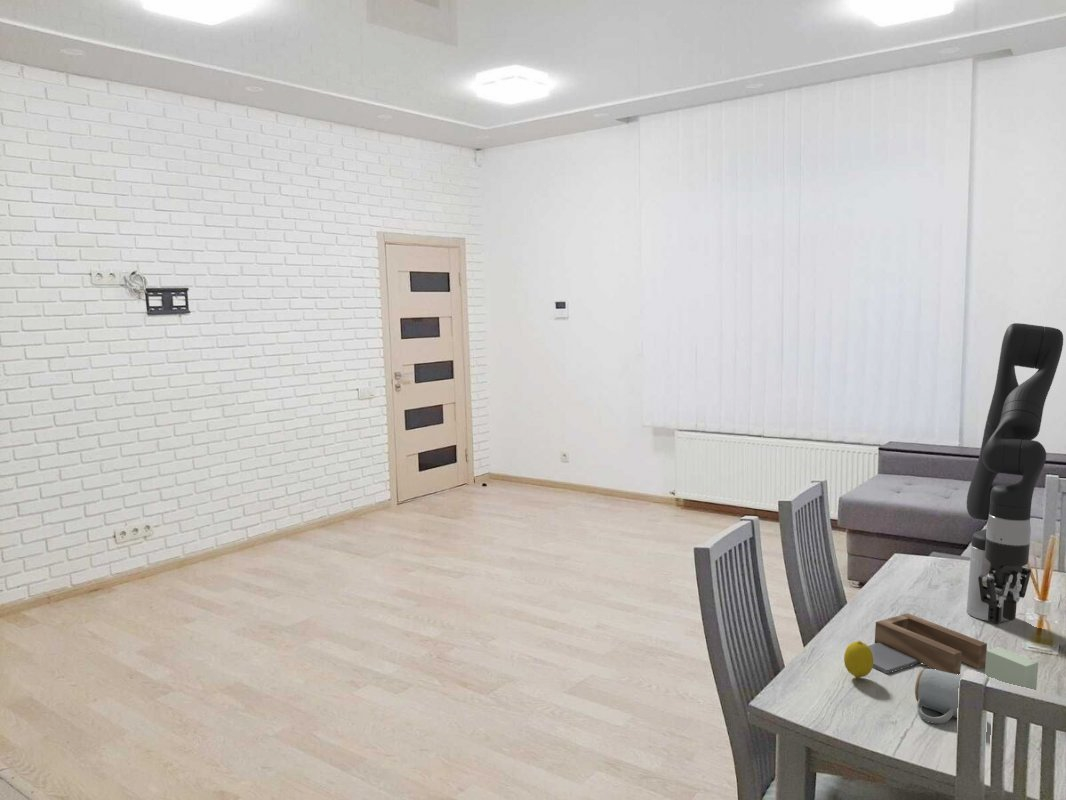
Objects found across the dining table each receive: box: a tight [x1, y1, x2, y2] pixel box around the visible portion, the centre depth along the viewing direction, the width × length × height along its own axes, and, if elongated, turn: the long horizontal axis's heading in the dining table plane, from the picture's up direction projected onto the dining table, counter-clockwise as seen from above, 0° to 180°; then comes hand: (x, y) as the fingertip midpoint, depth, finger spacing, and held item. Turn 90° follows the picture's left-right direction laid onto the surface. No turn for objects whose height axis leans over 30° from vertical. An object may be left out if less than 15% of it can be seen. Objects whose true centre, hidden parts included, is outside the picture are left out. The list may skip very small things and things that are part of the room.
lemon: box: [843, 640, 874, 679], centre depth 165 cm, size 6×6×8 cm
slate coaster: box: [867, 643, 919, 674], centre depth 174 cm, size 10×10×1 cm
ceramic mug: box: [914, 668, 963, 724], centre depth 151 cm, size 11×8×8 cm
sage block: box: [984, 646, 1039, 691], centre depth 161 cm, size 4×8×7 cm, turn 28°
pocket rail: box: [874, 612, 988, 675], centre depth 177 cm, size 11×19×5 cm, turn 28°
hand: (1001, 620), depth 162 cm, fingers open, 4 cm apart
